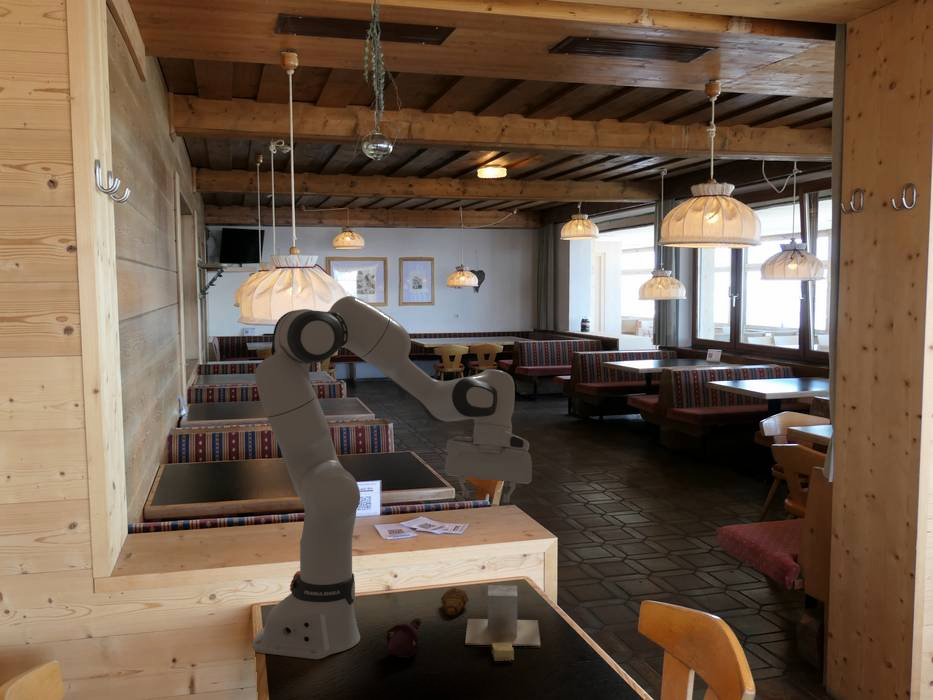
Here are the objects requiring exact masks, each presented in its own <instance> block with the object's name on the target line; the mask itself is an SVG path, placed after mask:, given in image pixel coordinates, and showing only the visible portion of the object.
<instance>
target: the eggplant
mask: <svg viewBox="0 0 933 700" xmlns="http://www.w3.org/2000/svg"><path fill="white" fill-rule="evenodd" d="M421 625H422V619H421V618H420V617H416V618H413V619H412V620H411V622H410V624H409V623H407V622H405V623H400V624H395V625H394V626H393V627H391V628H389V629H388V630H387V631H386V637H385V639H386V642H387V649H386V655H394V656H396V657H397V656H407V657H410V658H412V657H413V656H414V655H415V654H416V653H417V652H418V649H419V646H420V643H421V635H420V633H419V632H418V630H419V628H420V626H421Z"/></svg>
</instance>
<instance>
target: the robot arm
mask: <svg viewBox="0 0 933 700" xmlns="http://www.w3.org/2000/svg"><path fill="white" fill-rule="evenodd" d="M411 347H412V341H411V337H410V334H409V332H408V331H407V330H406V329H405V327H404V326H403V325H402V324H400V323H399V322H398V321H397V320H395V319H394V318H393V317H391V316H390V315H388V314H387V313H385V312H384V311H383V310H381V309H379V308H377V307H376V306H374V305H372V304H371V303H369V302H366V301H365V300H362V299H360V298H359V297H356V296H352V295H351V296H350V295H347V296H343V297H341V298H339V299H338V300H336V302H334V304H333V305H332V306H330V309H329V310H328V311H325V310H322V311H321V310H312V309H308V308H304V309H295V310H291V311H290V310H289V311H287V312H286V313H284V314H283V315H281V317H280V318H279V319H278V320H277V321H276V324H275V325H274V329H273V334H272V343H271V350H270V353H271V355H270V356H268V357H266V358H265V359H263V360H262V361H261V362H260V363H259V364H258V365H257V367H256V369H255V371H254V379H255V380H254V381H255V384H256V388H257V393H258V396H259V399H260V400H259V401H260V403H261V405H262V408H263V412H264V413H265V416H266V419H267V420H268V423H269V426H270V427H271V430H272V432H273V435H274V437H275V439H276V442H277V445H278V446H279V449H280V453H281V455H282V458H283V461H284V464H285V466H286V469H287V472H288V476H290V477H289V478H290V480H291V483H292V485H293V488H294V491H295V493H296V495H297V496H298V498H299V499H300V500H301V501H302V503H303V506H304V507H303V508H304V517H303V518H304V519H303V528H302V533H301V537H300V541H299V548H300V549H299V568H300V569H299V570H298V571H296V572H295V573H294V575H293V576H292V577H293V578H292V579H291V582H290V585H289V592H291V593H290V594H288V595H287V596H286V597H285V598H284V599H282V600H281V601H280V602H278V603H277V604H275V605H274V606H273V607H272V609H270V611H269V613H268V615H267V616H266V619H265V623H264V627H263V628H261V629H260V630H259V631H258V633H257V634H255V637H254V639H253V643H252V648H253V649H252V650H253V651H254V652H255V653H259V654H260V653H261V654H270V655H278V656H284V657H294V658H301V659H302V658H303V659H310V660H320V659H324V658H326V657H329V656H330V655H333V654H336V653H340V652H344V651H347V650H348V649H351V648H353V647H354V646H356V645H357V644H358V643H359V642H360V640H361V635H360V631H359V628H358V623H357V619H356V612H355V607H354V605H355V604H354V603H355V602H354V601H355V597H356V582H355V575H354V573H353V538H354V536H353V535H354V529H355V524H356V517H357V510H358V508H359V505H360V503H361V491H360V488H359V485H358V482H357V480H356V477H354V475H352V474H351V473H350V472H349V471H348V470H347V469H345V468H344V467H343V465H342V464H341V462H340V460H339V458H338V455H337V452H336V449H335V445H334V442H333V438H332V432H331V428H330V426H329V423H328V421H327V418H326V416H325V413H324V411H323V408H322V405H321V404H320V401H319V398H318V396H317V394H316V392H315V389H314V386H313V385H312V383H311V378H310V367H311V364H318V363H322V362H325V361H326V360H328V359H330V358H331V357H333V355H335V354H336V353H337V351H339V350H340V349H341V348H345V349H347V350H349V351H351V353H353V354H354V355H356V356H357V357H359V358H360V359H362V360H363V361H364V362H366V363H367V364H369V365H371V366H373V368H375V369H377V370H378V371H380V373H382V374H383V375H384V376H385V377H386V378H388V379H389V380H390V381H391V382H392V383H394V384H396V386H398V387H399V388H400V389H402V390H403V391H404V392H406V394H408V395H409V396H410V397H412V398H413V399H414V400H415V401H416V402H417V403H418V404H419V405H420V406H421V409H422V410H423V411H424V413H425V414H426V416H427V417H428V418H429V419H430V420H432V421H433V422H435V423H436V424H437V423H438V424H441V425H446V424H451V423H453V422H457V421H459V422H460V421H465V420H473V421H474V426H473V435H472V437H469V436H459V435H454V436H453V437H449V438H448V439H447V442H446V445H445V450H446V451H445V452H446V453H447V456H446V460H445V464H444V473H445V474H446V475H448V476H452V477H458V482H459V485H460V487H461V489H462V490H461V491H462V492H461V497H462V498H468V499H469V498H470V497H469V496H470V495H469V493H470V490H469V489H467V488H466V487H465V485H464V483H465V482H466V478H469V479H478V480H489V481H498V482H508V483H509V487H510V489H509V491H508V492H507V493H503V498H502V502H503V503H509V502H510V498H511V495H512V493H513V492H514V490H515V489H516V488H517V487H516V484H523V485H524V484H525V485H528V484H530V483H531V482H532V480H533V465H532V464H533V462H532V457H531V454H530V453H529V452H528V451H529V449H530V443H529V441H528V440H527V439H524V438H522V437H520V436H517V435H516V434H513V432H512V431H513V425H512V424H513V423H512V417H513V413H514V409H515V397H516V395H515V394H516V392H515V391H516V387H515V382H514V379H513V377H512V376H511V374H509V373H507V372H506V371H503V370H500V369H495V368H486V369H484V370H483V371H482V372H479V373H478V374H474V375H470V376H465V377H458V378H454V379H452V380H438V379H435V378H433V377H431V376H430V375H429V374H427V373H426V372H425V371H424V370H422V368H420V367H419V366H417V365H416V364H415V363H414V362H412V360H411V359H410V358H409V354H410V352H411V350H412V349H411Z"/></svg>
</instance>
